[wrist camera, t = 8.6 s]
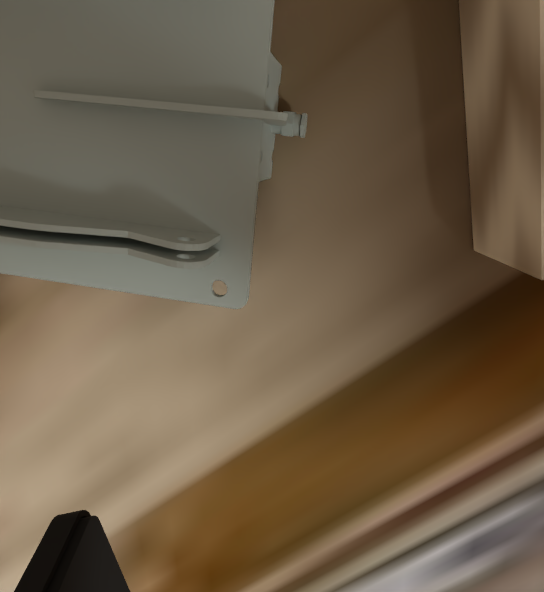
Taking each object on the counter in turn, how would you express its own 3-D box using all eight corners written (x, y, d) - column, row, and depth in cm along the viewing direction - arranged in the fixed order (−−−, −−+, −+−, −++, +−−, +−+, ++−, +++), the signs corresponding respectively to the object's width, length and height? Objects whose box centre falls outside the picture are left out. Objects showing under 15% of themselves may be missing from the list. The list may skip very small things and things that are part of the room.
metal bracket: (330, -342, 8) (255, 403, 13) (340, -142, 14) (285, 328, 18) (-329, -318, 10) (-185, 323, 15) (-87, -151, 15) (-38, 277, 20)
